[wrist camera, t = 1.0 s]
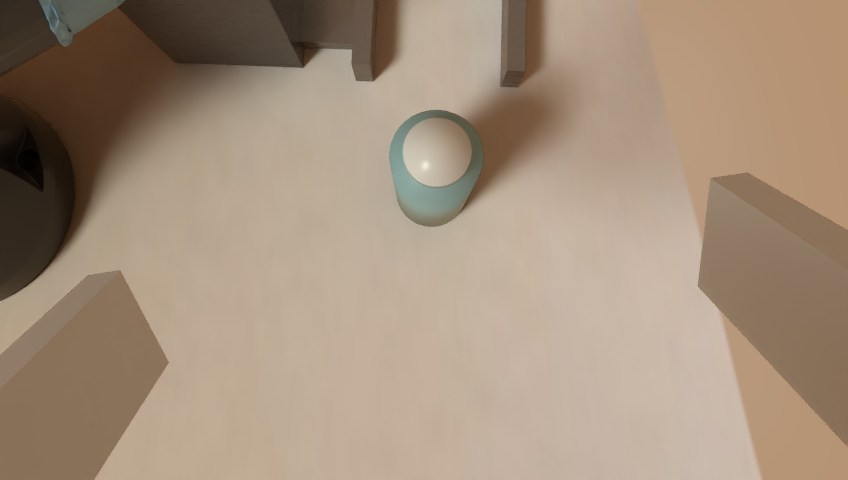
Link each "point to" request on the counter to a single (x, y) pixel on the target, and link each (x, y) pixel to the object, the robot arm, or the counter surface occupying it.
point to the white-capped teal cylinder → (435, 166)
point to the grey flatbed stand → (289, 31)
